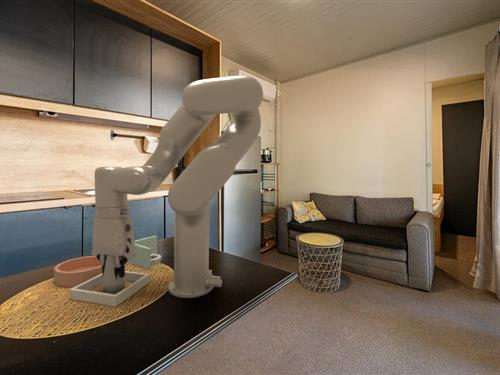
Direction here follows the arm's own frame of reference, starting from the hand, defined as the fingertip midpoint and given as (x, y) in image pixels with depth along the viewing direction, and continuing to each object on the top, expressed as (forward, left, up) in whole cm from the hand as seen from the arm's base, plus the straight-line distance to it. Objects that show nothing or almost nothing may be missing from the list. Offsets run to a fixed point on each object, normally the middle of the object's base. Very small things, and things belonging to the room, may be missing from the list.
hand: (113, 278), depth 68 cm
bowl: (+15, -5, -3) cm, 16 cm away
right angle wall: (+3, -22, -4) cm, 23 cm away
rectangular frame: (0, 0, -3) cm, 3 cm away
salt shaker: (0, 0, -3) cm, 3 cm away
